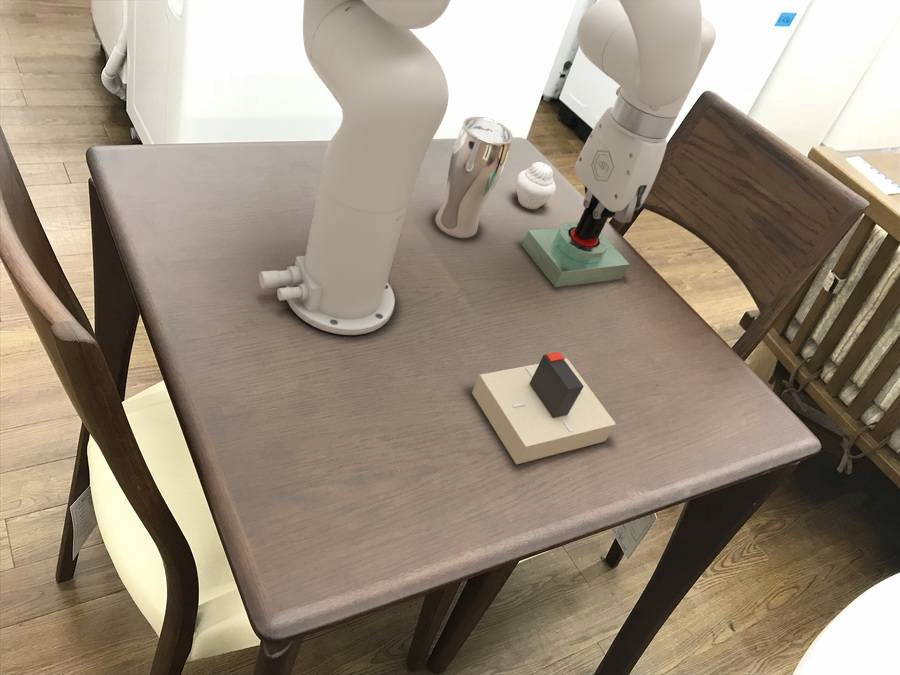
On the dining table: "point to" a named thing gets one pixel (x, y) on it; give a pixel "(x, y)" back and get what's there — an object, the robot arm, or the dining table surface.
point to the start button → (586, 243)
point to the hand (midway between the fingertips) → (585, 235)
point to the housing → (573, 257)
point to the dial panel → (538, 416)
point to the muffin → (535, 185)
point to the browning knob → (556, 384)
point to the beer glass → (472, 174)
